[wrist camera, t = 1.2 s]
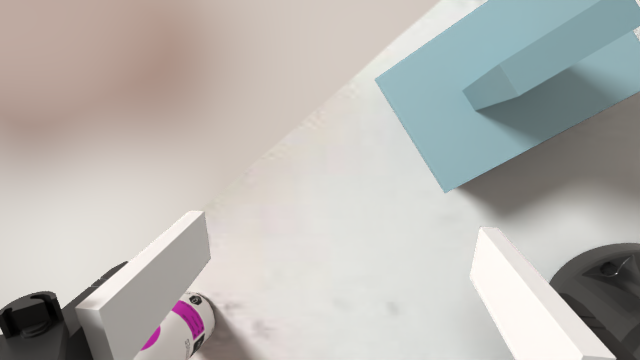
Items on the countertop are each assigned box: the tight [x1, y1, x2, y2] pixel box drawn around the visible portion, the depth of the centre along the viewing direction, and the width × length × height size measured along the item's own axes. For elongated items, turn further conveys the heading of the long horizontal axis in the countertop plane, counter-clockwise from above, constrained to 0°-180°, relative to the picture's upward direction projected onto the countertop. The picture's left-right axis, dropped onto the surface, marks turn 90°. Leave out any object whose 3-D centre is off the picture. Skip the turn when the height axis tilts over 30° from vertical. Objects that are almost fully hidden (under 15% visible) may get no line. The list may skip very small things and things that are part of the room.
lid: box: [375, 0, 640, 193], centre depth 20 cm, size 17×12×11 cm
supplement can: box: [133, 291, 215, 360], centre depth 39 cm, size 8×8×15 cm
